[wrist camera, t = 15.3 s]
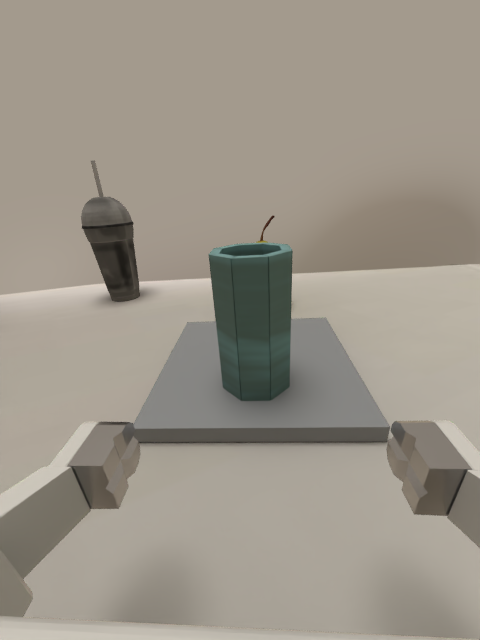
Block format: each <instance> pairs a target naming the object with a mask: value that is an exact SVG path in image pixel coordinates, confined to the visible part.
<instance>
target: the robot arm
mask: <svg viewBox="0 0 480 640" xmlns="http://www.w3.org/2000/svg"><path fill="white" fill-rule="evenodd" d="M391 432H392V434H393V436H394V437H393V438H392V439H390V440H389V441H388V445H387V457H388V462H389V465H390V467H391V470H392V472H393V474H394V475H395V476H396V477H397V478H398V479H400V480H401V481H402V482H403V487H402V492H403V494H404V496H405V498H406V499H407V501H408V503H409V505H410V507H411V509H412V511H413V513H414V514H417V515H437V516H448V517H447V518H448V519H449V520H450V521H451V522H452V523H454V524H455V525H456V526H457V527H458V528H459V529H460V530H461V531H462V532H463V533H464V534H465V535H467V536H468V537H469V538H470V539H471V540H472V541H473V542H474V543H475V544H476V545H477V546H478V547H479V548H480V452H479V451H478V450H477V449H476V448H475V446H474V445H473V444H472V443H471V442H470V441H469V440H468V439H467V438H466V436H465V435H464V434H463V433H462V432H461V431H460V430H459V429H458V427H457V426H456V425H455V424H454V423H452V422H451V421H449V420H435V421H395V422H394V423H393V424H392V427H391ZM134 433H135V428H134V425H133V423H130V422H84V423H83V424H81V425H80V426H79V428H78V429H77V430H76V431H75V433H74V434H73V435H72V437H71V438H70V439H69V440H68V442H67V443H66V444H65V446H64V447H63V448H62V449H61V451H60V452H59V453H58V455H57V456H56V457H55V458H54V460H53V461H52V462H51V464H50V465H49V466H44V467H42V468H40V469H39V470H37V471H36V472H34V473H33V474H31V475H30V476H28V477H26V478H25V479H23V480H22V481H20V482H19V483H17V484H16V485H14V486H13V487H11V488H10V489H8V490H6V491H5V492H3V493H2V494H0V640H480V639H463V638H442V637H422V636H402V635H382V634H361V633H341V632H321V631H300V630H280V629H259V628H239V627H218V626H198V625H178V624H157V623H137V622H116V621H96V620H75V619H55V618H35V617H23V616H24V614H25V612H26V610H27V609H28V607H29V605H30V603H31V601H32V599H33V594H32V591H31V590H30V588H29V587H28V586H27V584H26V583H25V582H24V580H23V579H24V578H25V577H26V576H27V575H28V574H29V573H30V572H31V571H32V570H33V568H34V567H35V566H36V565H37V564H38V563H39V562H40V561H41V560H42V559H43V558H44V557H45V556H46V555H47V554H48V553H49V552H50V551H51V550H52V549H53V548H54V547H55V546H56V545H57V544H58V543H59V542H60V541H61V540H62V539H63V538H64V537H65V536H66V535H67V534H68V533H69V532H70V531H71V530H72V529H73V528H74V527H75V526H76V525H77V524H78V523H79V522H80V521H81V520H82V519H83V518H84V517H85V516H86V515H87V514H88V513H89V512H90V511H91V510H90V509H119V507H120V505H121V503H122V500H123V498H124V496H125V494H126V491H127V489H128V487H129V486H128V482H127V479H128V478H129V477H130V476H131V475H132V474H134V473H135V471H136V468H137V466H138V463H139V458H140V445H139V441H138V440H137V439H135V438H134V437H133V435H134Z"/></svg>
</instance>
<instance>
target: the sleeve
mask: <svg viewBox="0 0 480 640" xmlns="http://www.w3.org/2000/svg"><path fill="white" fill-rule="evenodd" d="M209 261H210V271H211V280H212V290H213V299H214V308H215V318H216V327H217V337H218V346H219V355H220V365H221V374H222V383H223V388H224V389H225V390H226V391H228V392H229V393H231V394H232V395H234V396H235V397H236V398H238V399H239V400H242V401H270V400H273V399H274V398H275V397H277V396H278V395H279V394H281V393H282V392H283V391H285V390H286V389H287V388H289V387H290V340H291V291H292V249H291V248H290V246H289V245H287V244H275V243H265V242H264V243H246V244H234V245H229V246H224V247H219V248H214V249H213V250H212V251H211V252H210V254H209Z"/></svg>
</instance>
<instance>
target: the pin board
mask: <svg viewBox="0 0 480 640" xmlns="http://www.w3.org/2000/svg"><path fill="white" fill-rule="evenodd" d="M133 425H134V428H135V433H134V435H133V437H134V438H135V439H137V440H138V441H139V442H387V438H388V434H389V430H390V426H389V424H388V423H387V421H386V419H385V418H384V416H383V414H382V412H381V411H380V409H379V407H378V406H377V404H376V402H375V401H374V399H373V397H372V395H371V394H370V392H369V390H368V389H367V387H366V385H365V384H364V382H363V380H362V378H361V377H360V375H359V373H358V372H357V370H356V368H355V367H354V365H353V363H352V361H351V360H350V358H349V356H348V355H347V353H346V351H345V350H344V348H343V346H342V344H341V343H340V341H339V339H338V338H337V336H336V334H335V333H334V331H333V329H332V327H331V326H330V324H329V322H328V321H327V319H326V318H304V319H291V340H290V387H289V388H287V389H286V390H285V391H283V392H282V393H281V394H279V395H278V396H277V397H275V398H274V399H273V400H270V401H242V400H239V399H238V398H236V397H235V396H234V395H232V394H231V393H229V392H228V391H226V390H225V389H224V388H223V383H222V374H221V365H220V355H219V346H218V337H217V327H216V321H215V322H187V324H186V326H185V328H184V330H183V332H182V334H181V336H180V337H179V339H178V341H177V343H176V345H175V347H174V349H173V351H172V353H171V354H170V356H169V358H168V360H167V362H166V364H165V366H164V368H163V369H162V371H161V373H160V375H159V377H158V379H157V381H156V383H155V385H154V386H153V388H152V390H151V392H150V394H149V396H148V398H147V400H146V402H145V403H144V405H143V407H142V409H141V411H140V413H139V415H138V417H137V418H136V420H135V422H134V424H133Z"/></svg>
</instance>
